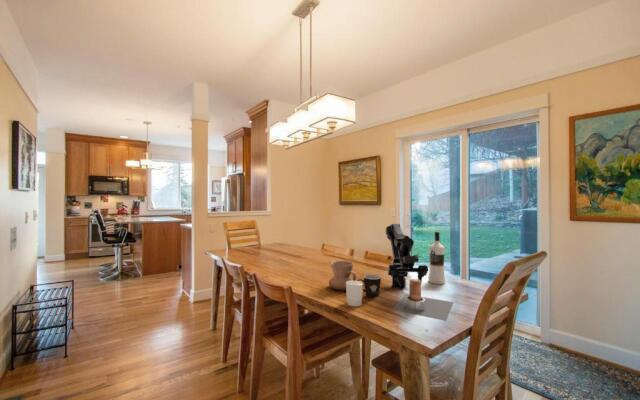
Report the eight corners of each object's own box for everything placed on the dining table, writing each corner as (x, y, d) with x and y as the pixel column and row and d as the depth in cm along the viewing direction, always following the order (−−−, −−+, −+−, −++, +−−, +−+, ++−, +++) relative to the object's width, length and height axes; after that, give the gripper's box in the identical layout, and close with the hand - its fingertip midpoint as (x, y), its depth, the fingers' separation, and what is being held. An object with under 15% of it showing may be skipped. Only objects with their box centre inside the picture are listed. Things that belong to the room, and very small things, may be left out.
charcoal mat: (391, 311, 128) (391, 309, 128) (406, 296, 149) (406, 294, 149) (446, 323, 117) (446, 320, 117) (453, 304, 138) (453, 302, 138)
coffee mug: (382, 295, 150) (382, 275, 150) (378, 300, 142) (378, 280, 142) (360, 292, 155) (360, 273, 155) (355, 297, 147) (355, 277, 147)
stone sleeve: (402, 308, 130) (402, 299, 130) (407, 302, 137) (407, 294, 137) (422, 312, 125) (422, 303, 125) (426, 306, 133) (426, 297, 133)
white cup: (344, 301, 141) (344, 280, 141) (360, 300, 142) (360, 280, 142) (347, 307, 133) (347, 285, 133) (364, 306, 134) (364, 285, 134)
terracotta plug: (406, 306, 132) (407, 280, 132) (413, 304, 135) (413, 278, 135) (416, 310, 128) (416, 282, 128) (423, 307, 131) (423, 280, 131)
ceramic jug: (321, 287, 163) (322, 261, 163) (340, 282, 173) (340, 258, 172) (345, 296, 150) (345, 268, 149) (363, 290, 159) (364, 264, 159)
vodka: (448, 283, 171) (449, 232, 171) (436, 285, 168) (436, 233, 167) (436, 279, 180) (437, 230, 179) (424, 281, 176) (425, 231, 176)
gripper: (388, 248, 145) (393, 277, 134) (427, 249, 144) (434, 277, 133) (386, 261, 153) (389, 288, 142) (422, 261, 152) (429, 289, 141)
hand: (410, 286), depth 139 cm, fingers open, 9 cm apart
